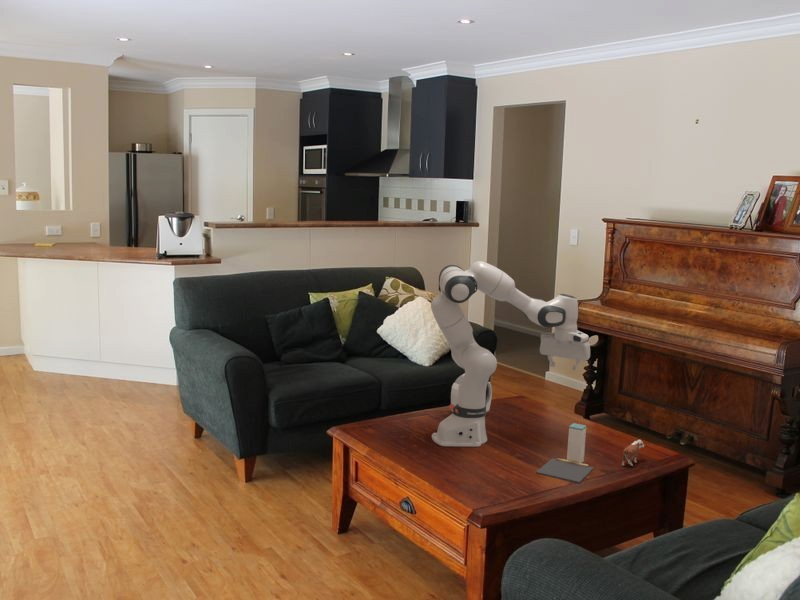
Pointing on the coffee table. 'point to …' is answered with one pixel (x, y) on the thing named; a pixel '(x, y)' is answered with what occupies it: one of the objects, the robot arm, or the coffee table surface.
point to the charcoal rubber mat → (565, 470)
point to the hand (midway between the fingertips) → (563, 368)
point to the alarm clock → (455, 393)
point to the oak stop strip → (572, 462)
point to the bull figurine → (632, 451)
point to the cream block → (576, 442)
